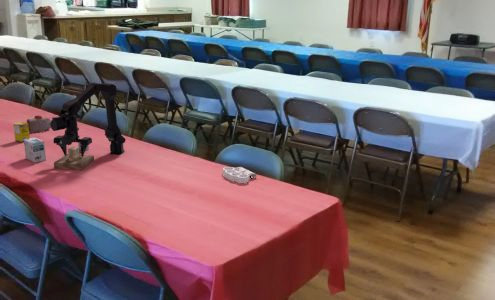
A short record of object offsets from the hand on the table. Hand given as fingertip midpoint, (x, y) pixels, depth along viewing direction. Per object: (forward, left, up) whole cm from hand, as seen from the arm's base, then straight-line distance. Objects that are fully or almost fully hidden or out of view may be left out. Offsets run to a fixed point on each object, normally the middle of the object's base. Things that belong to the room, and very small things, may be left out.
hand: (74, 156), depth 276 cm
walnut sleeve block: (0, 0, -4) cm, 4 cm away
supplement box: (+49, -34, -5) cm, 60 cm away
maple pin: (0, 0, -5) cm, 5 cm away
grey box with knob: (+51, -58, -5) cm, 78 cm away
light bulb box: (+24, -4, -5) cm, 25 cm away
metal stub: (+6, -24, -5) cm, 25 cm away
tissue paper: (-87, +2, -5) cm, 87 cm away
